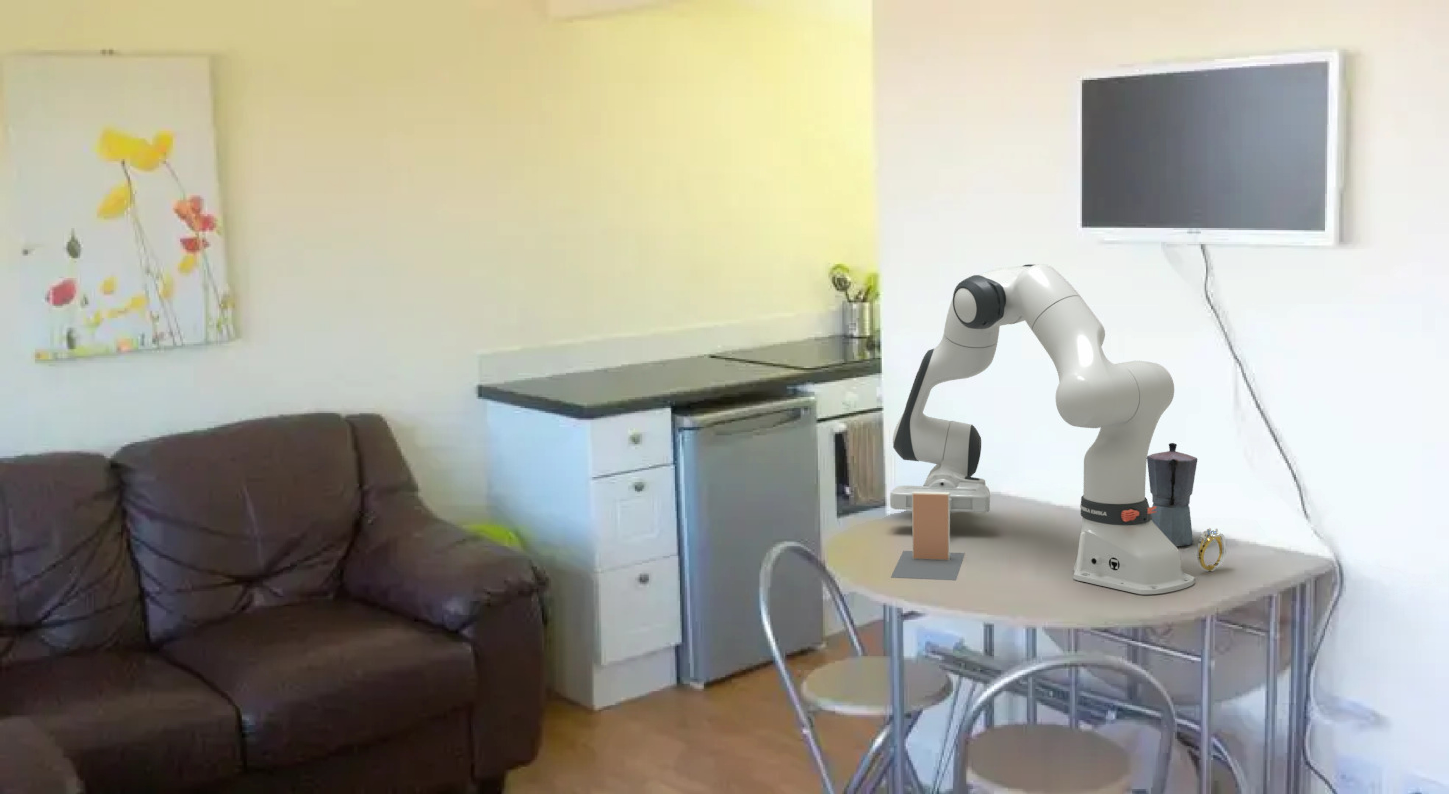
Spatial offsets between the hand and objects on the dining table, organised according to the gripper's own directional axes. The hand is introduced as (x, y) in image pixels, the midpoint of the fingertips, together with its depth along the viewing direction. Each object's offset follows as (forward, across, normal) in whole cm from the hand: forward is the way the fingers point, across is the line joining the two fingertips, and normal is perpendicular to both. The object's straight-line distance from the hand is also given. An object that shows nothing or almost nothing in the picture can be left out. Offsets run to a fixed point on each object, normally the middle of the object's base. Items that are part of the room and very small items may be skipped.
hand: (936, 508), depth 306 cm
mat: (+17, 0, +7) cm, 18 cm away
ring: (+12, +52, +7) cm, 54 cm away
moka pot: (-7, +46, +7) cm, 47 cm away
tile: (+12, 0, +7) cm, 14 cm away
